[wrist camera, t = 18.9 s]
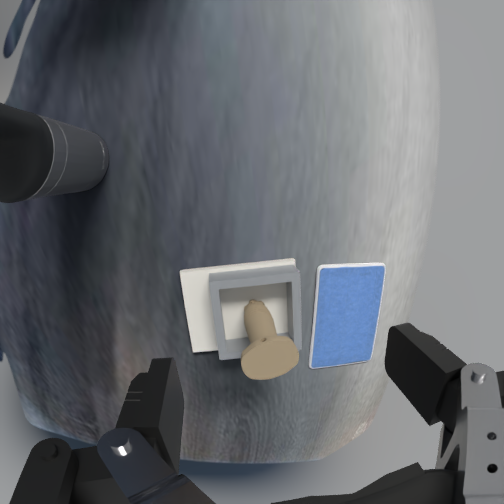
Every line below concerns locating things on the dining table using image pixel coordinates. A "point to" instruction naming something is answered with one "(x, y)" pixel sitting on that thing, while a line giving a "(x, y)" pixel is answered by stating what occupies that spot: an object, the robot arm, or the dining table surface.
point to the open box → (240, 303)
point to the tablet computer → (345, 313)
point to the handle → (265, 345)
